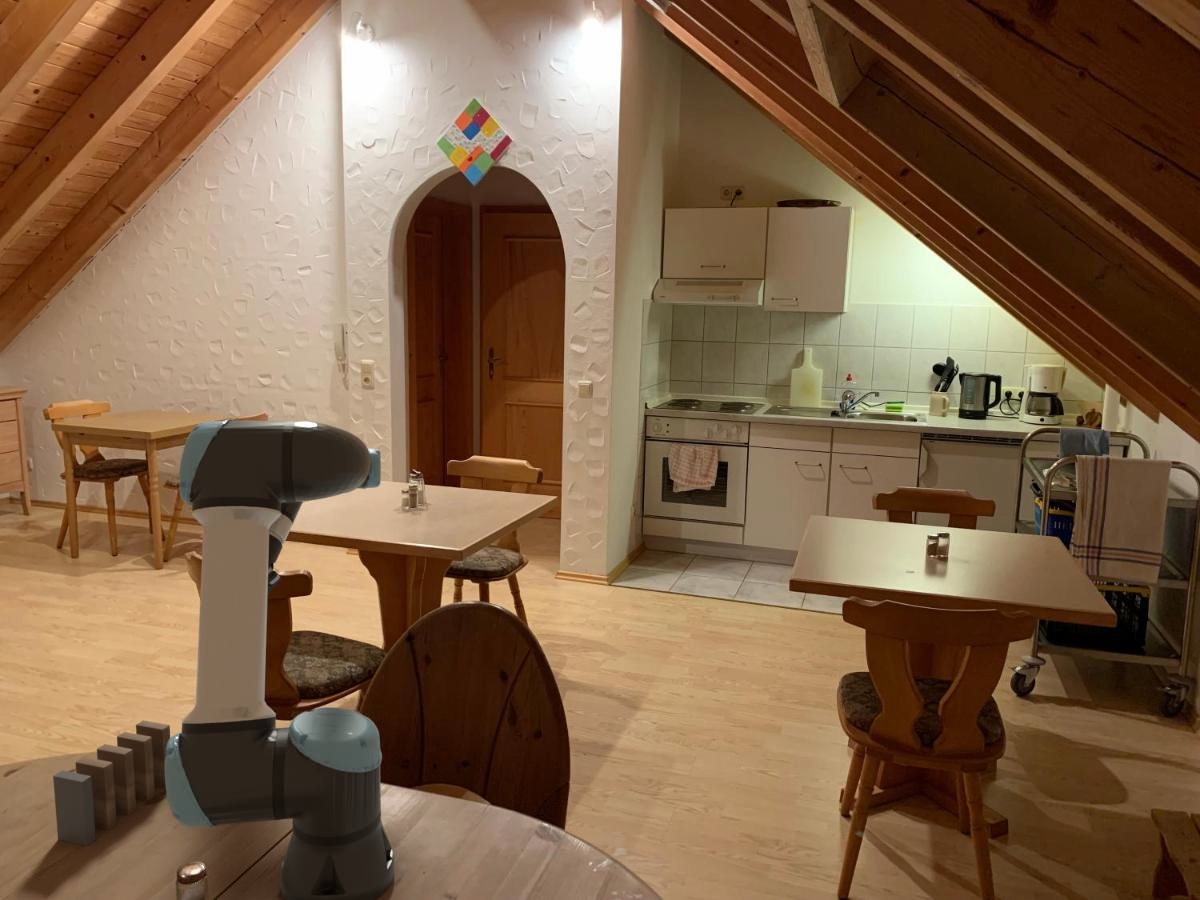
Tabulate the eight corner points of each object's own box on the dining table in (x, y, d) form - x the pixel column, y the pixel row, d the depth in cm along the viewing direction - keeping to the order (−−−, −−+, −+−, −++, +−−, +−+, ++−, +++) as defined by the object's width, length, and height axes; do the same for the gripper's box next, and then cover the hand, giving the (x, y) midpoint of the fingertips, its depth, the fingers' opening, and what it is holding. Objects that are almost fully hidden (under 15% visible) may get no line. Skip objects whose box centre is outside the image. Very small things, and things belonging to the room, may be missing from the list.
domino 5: (146, 777, 148) (143, 720, 146) (172, 782, 146) (169, 725, 145) (139, 782, 146) (135, 724, 144) (165, 787, 145) (162, 729, 143)
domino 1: (67, 833, 132) (62, 770, 131) (95, 839, 131) (91, 776, 129) (58, 839, 131) (53, 776, 129) (86, 845, 130) (82, 781, 128)
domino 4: (128, 790, 144) (124, 731, 142) (154, 795, 143) (151, 736, 141) (120, 795, 142) (116, 736, 140) (147, 800, 141) (144, 741, 139)
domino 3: (108, 803, 140) (104, 743, 138) (136, 809, 139) (132, 749, 137) (100, 809, 138) (96, 749, 137) (128, 815, 137) (124, 754, 135)
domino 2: (88, 818, 136) (84, 756, 134) (116, 823, 135) (112, 762, 133) (80, 823, 135) (75, 762, 133) (108, 830, 133) (104, 767, 132)
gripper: (304, 551, 171) (253, 669, 158) (241, 543, 174) (186, 658, 161) (287, 531, 165) (233, 652, 152) (222, 523, 168) (163, 641, 155)
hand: (209, 655), depth 157 cm, fingers closed
